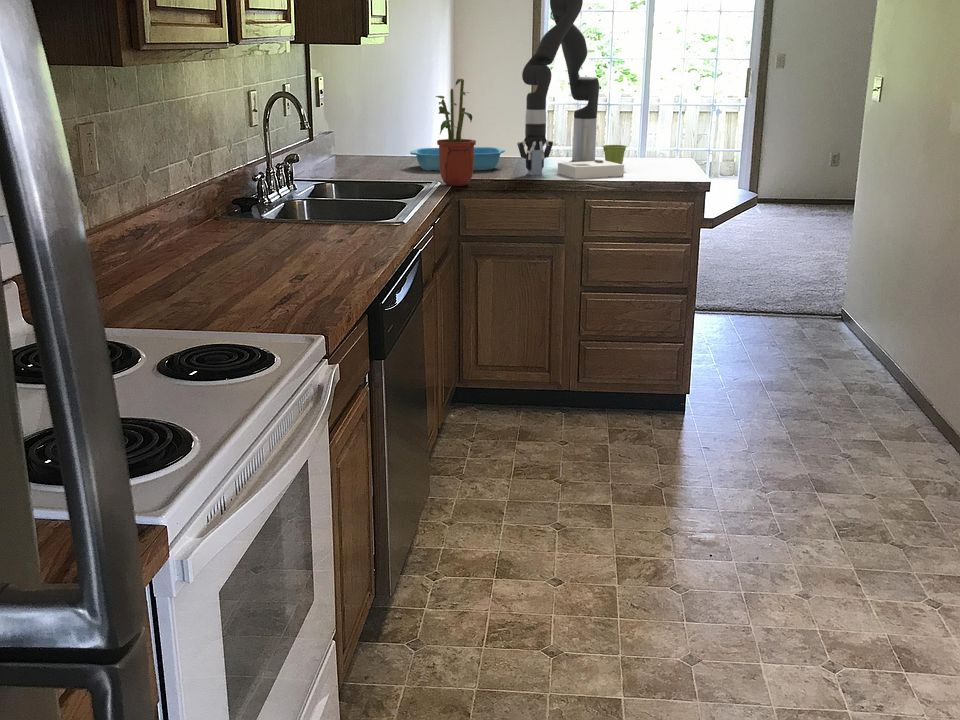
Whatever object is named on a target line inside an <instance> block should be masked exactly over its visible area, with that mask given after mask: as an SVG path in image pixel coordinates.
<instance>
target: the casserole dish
mask: <svg viewBox="0 0 960 720" xmlns="http://www.w3.org/2000/svg"><path fill="white" fill-rule="evenodd" d="M505 152H506V150H505V149H504V148H499V147H491V146H486V147H485V146H484V147H483V146H482V147H479V146H476V147H475V146H474V169H473V171H489V170H493V169H495V168H496V167H497V165H498V164H499V162H500V156H501V154H503V153H505ZM409 153H410V155H413V156H414V155H415V156H416V160H417V163H418V165H419V167H420V168H421V169H422V170H423V171H431V170H435V171H436V172H437V171H438V172H440V169H439V147H423V148H422V147H421V148H420V147H419V148H417V149H413V150H410V151H409Z"/></svg>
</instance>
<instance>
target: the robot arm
mask: <svg viewBox="0 0 960 720" xmlns="http://www.w3.org/2000/svg"><path fill="white" fill-rule="evenodd" d="M549 6H550V7H549V8H550V12H551V15H552V17H553V20H554V23H555V25H554V26H553V27H551V29H550V28H549V30H548V31H547V32H545V34H544V35H543V37H542V38H541V40H540V42H539V44H538V46H537V49H536V51H535V53H534V54H533V55H531V58H530V59H529V60H528V62H526V64H525V65H524V67H523V70H522V73H521V79H522V81H523V82H524V84H525V85H528V86H537V87H536V89H535V91H532V92H528V93H527V95H526V108H525V109H526V111H525V119H524V120H525V123H524V125H525V130H524V131H525V133H524V134H525V136H524V137H525V138H524V140H522V141H518V142H517V144H516V145H517V147H518V151H519V154H520V158H522V159H525V168H526V169H527V171H528V170H531V155H532V150H542V169H544V167H545V166H544V165H545V159H546V158H550V155H551V152H552V147H553V145H554V142H553V141H551V140H547V138H546V134H547V108H546V106H547V95H548V92H549V88H550V84H551V81H552V71H551V68H550V67H549V65H551V64H552V63H553V62H554V61H555V58H556V56H557V53H558V51H559V48H560V46H561V49H562V50H561V51H562V54H563V57H564V61H565V66H566V68H567V74H568V80H569V81H568V82H569V89H570V93H571V97H572V98H573V100H575V101H579V102H581V101H583V102H584V101H585V102H586V101H587V104H586V105H585V106H584V107H582V108H580V109H579V108H578V109H576V110H575V111H574V112H573V131H572V133H573V135H572V149H571V152H572V153H571V162H585V161H595V160H596V144H597V123H598V122H597V121H598V120H597V118H598V106H599V97H600V95H599V92H600V82H599V79H598V78H597V77H595V76H580V74H579V73H580V72H579V71H580V69H581V67H582V66H583V64H584V62H585V61H586V59H587V57H588V47H587V43H586V38H585V36H584V34H583V32H582V31H581V30H580V29H579V28H578V27H577V26H576V25H575V21H576V20H577V18H578V16H579V14H580V13H581V10H582V8H583V0H549ZM544 146H545V148H544ZM525 147H526V149H525ZM529 150H530V151H529Z"/></svg>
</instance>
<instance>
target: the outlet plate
mask: <svg viewBox="0 0 960 720" xmlns="http://www.w3.org/2000/svg"><path fill="white" fill-rule="evenodd" d="M624 170H625V164H623V163H622V164H618V163H614V162H610V161H605V160H603V159H595V161H585V162H575V161H568V162H563V161H562V162H557V174H558V173H559V174H558V175H561V174H562V175H561V176H564V175H566V176H565V177H568V176H570V177H569V178H571V177H573V178H572V179H587V178H588V179H589V178H608V176H612V177H623V176H622V175H624V174H625V172H624Z"/></svg>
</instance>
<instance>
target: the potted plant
mask: <svg viewBox="0 0 960 720" xmlns="http://www.w3.org/2000/svg"><path fill="white" fill-rule="evenodd" d="M458 84H460V88H459V107H458V108H459V109H458V121H457V126H455V123H454V122H455V121H454V120H455V118H454V116H455V112H454V109H455V108H454V106H455V107H457V103H455V102H454V101H455V99H454V89H453V88H450V93H449V95H450V112H449V111H448V108H447V104H446V101H445V96H444V95H435V96H434V98H438V99H441V101H439V102H438V105H439V106H438V110H439V112H438V114H439V115H441V114H443V115H444V117H445V120H443V121H442V122H441V124H440V130H439V131H440V132H439V135H441V134H442V132H443V130H445V129H447V134H448V135H447V136H448V138H445V139H444V138H443V139H438V140H436V144H437V146H438V148H439V169H440V171H439V174H440V178H441V179H442V181H443V183H445V184H446V185H447V186H449V187H464V186H466V185H468V184H469V183H470V182H471V179H472V178H473V174H474V170H473V169H474V147H475V145H476V144H477V140H475V139H470V138H469V139H468V138H467V139H466V138H462V130H463V129H462V128H463V124H464V118H465V115H466V117H468V118H469V121H470V123H472V121H473V115H472V114H471V113H469V112H468V111H466V107H463V105H464V103H463V102H464V100H463V99H464V96H465V97H466V96H467V95H466V94H470V92H469V91H468V92H465V91H464V85H465V80H464V79H463V78H457V79H456V81H455V86H457V85H458ZM440 105H441V106H440ZM449 115H450V117H449ZM455 128H456V132H455ZM455 133H456V134H455Z"/></svg>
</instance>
